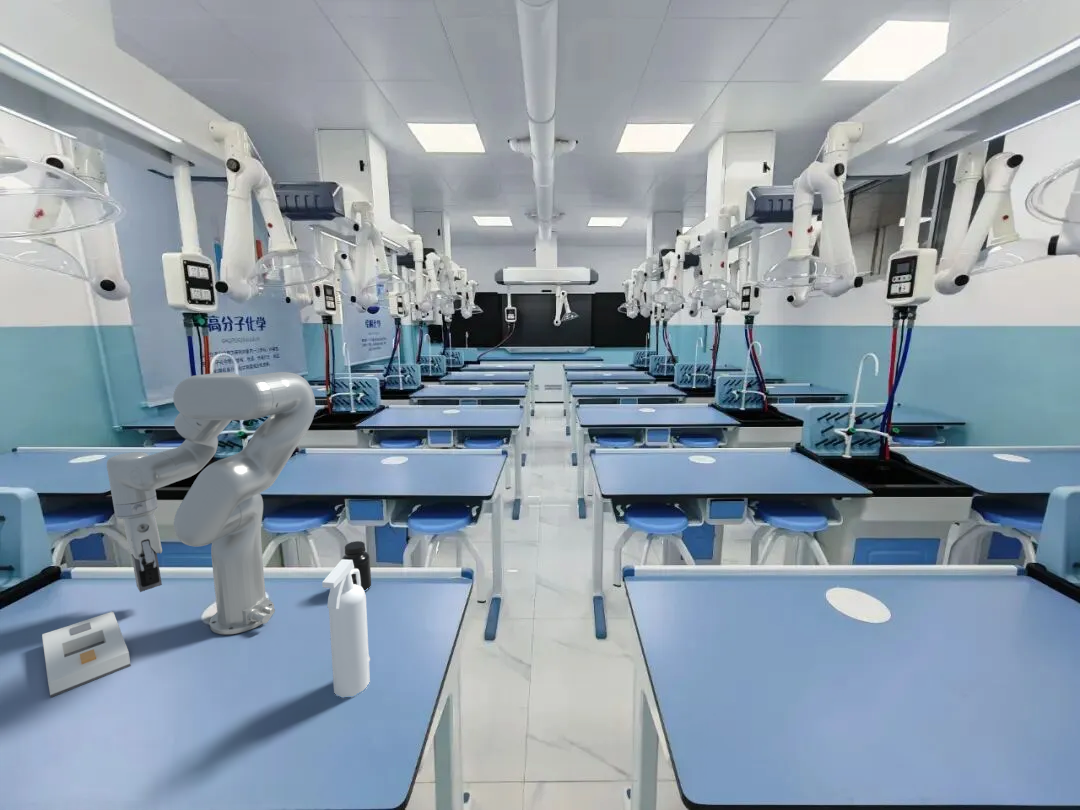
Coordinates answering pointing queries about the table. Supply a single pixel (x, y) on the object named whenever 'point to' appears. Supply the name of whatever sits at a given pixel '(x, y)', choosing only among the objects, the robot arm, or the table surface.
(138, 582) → the block
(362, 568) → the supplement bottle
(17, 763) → the table surface
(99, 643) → the switch panel
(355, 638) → the white spray bottle
